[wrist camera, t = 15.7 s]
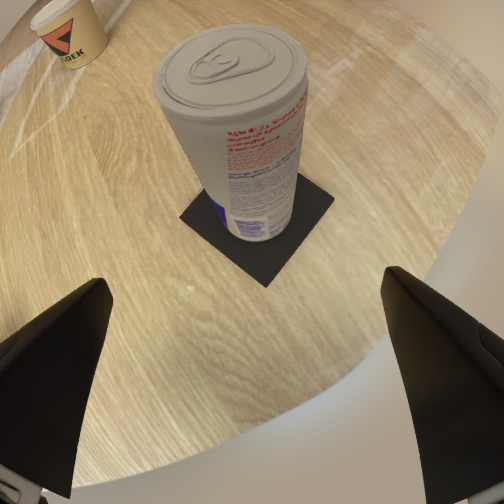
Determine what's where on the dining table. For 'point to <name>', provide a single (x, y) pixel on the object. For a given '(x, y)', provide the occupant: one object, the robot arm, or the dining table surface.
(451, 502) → the robot arm
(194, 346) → the dining table surface
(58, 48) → the coffee cup
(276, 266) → the coaster
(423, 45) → the dining table surface
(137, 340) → the dining table surface
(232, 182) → the beverage can
